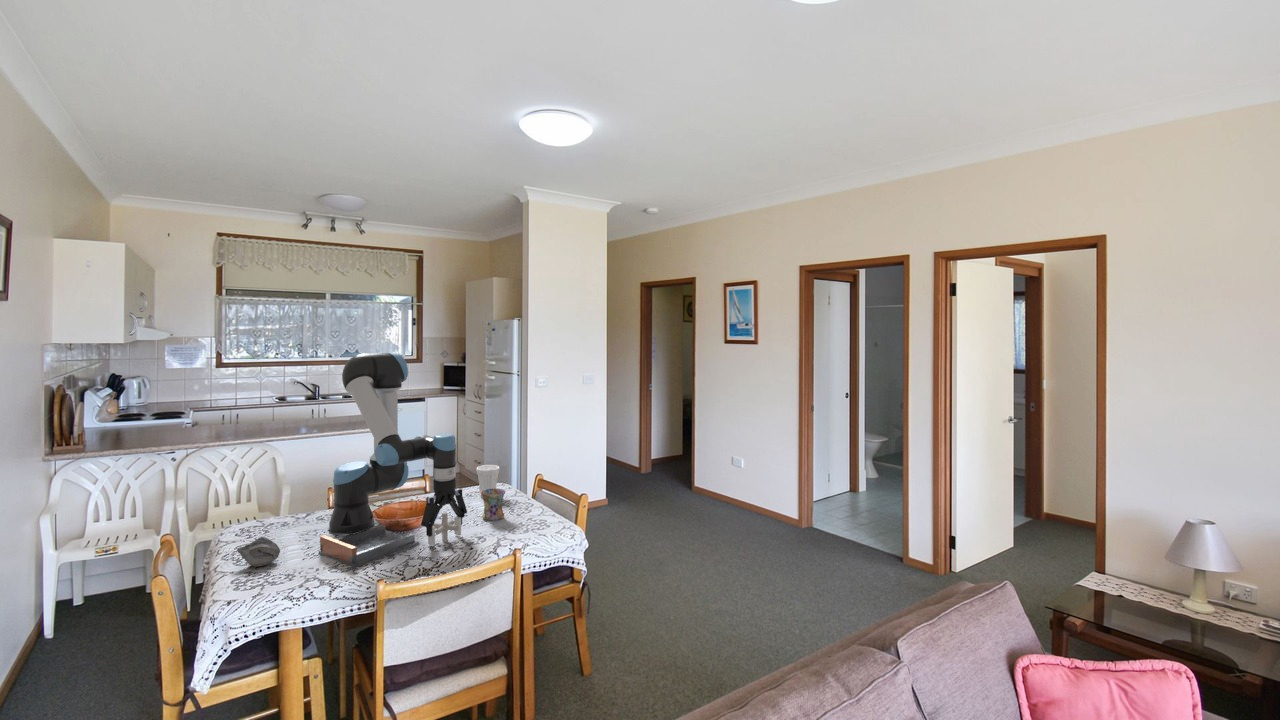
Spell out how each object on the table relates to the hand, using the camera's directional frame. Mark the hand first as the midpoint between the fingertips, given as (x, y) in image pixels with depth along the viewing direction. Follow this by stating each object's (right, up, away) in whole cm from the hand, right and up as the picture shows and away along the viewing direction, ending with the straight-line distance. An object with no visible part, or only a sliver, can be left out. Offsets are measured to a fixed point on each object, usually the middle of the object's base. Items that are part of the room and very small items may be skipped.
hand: (444, 539), depth 208 cm
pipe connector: (0, -1, 0) cm, 1 cm away
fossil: (-52, -1, -22) cm, 56 cm away
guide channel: (-23, -1, -8) cm, 24 cm away
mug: (+10, +1, +26) cm, 27 cm away
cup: (+2, +3, +52) cm, 52 cm away
